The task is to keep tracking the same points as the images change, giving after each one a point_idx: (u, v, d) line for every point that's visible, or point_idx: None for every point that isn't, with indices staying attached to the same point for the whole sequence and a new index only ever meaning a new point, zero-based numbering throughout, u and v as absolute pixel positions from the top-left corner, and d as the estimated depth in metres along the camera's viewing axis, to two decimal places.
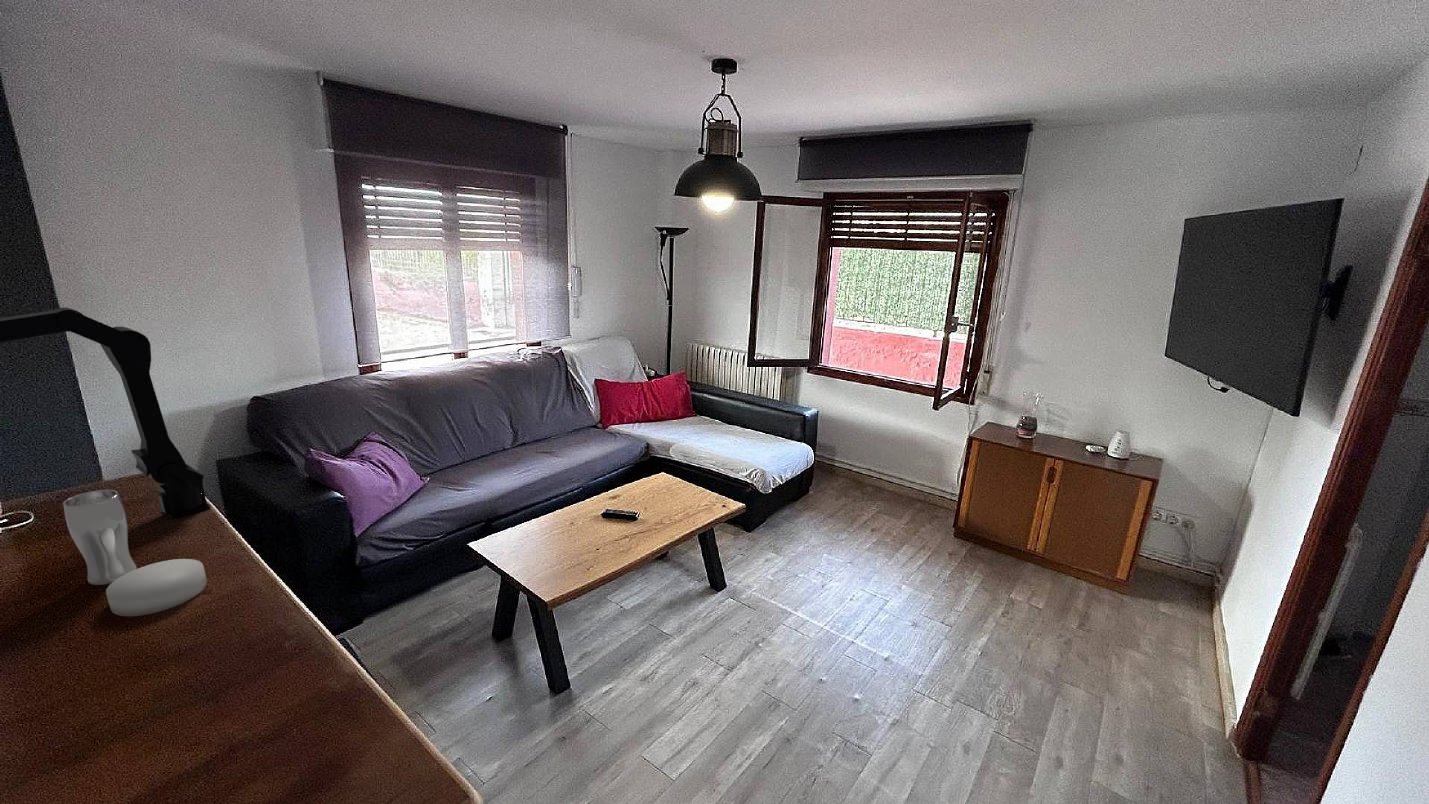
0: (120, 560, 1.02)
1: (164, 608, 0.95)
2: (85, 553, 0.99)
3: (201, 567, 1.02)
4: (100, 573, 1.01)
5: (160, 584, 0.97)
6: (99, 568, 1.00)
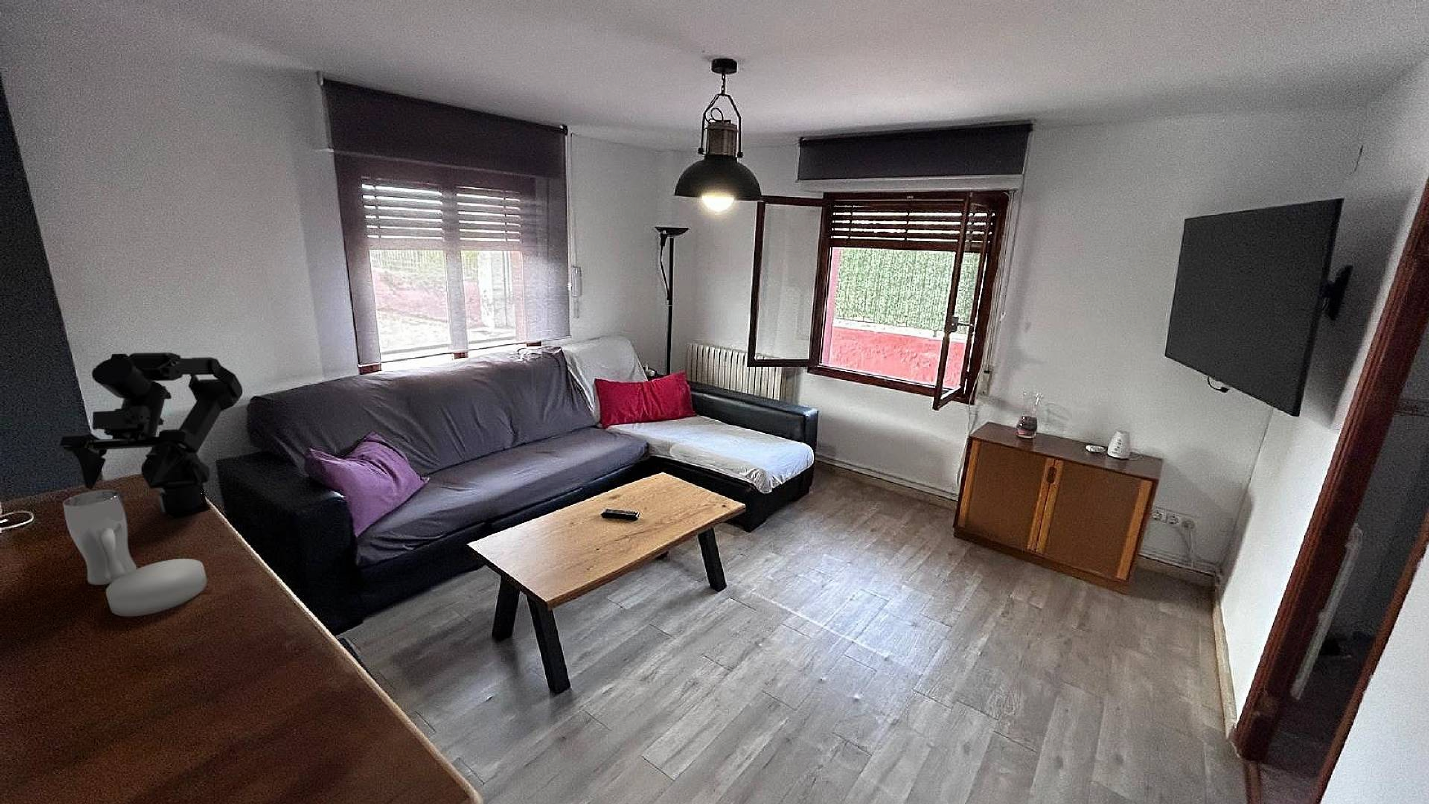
0: (120, 560, 1.02)
1: (164, 608, 0.95)
2: (85, 553, 0.99)
3: (201, 567, 1.02)
4: (100, 573, 1.01)
5: (160, 584, 0.97)
6: (99, 568, 1.00)
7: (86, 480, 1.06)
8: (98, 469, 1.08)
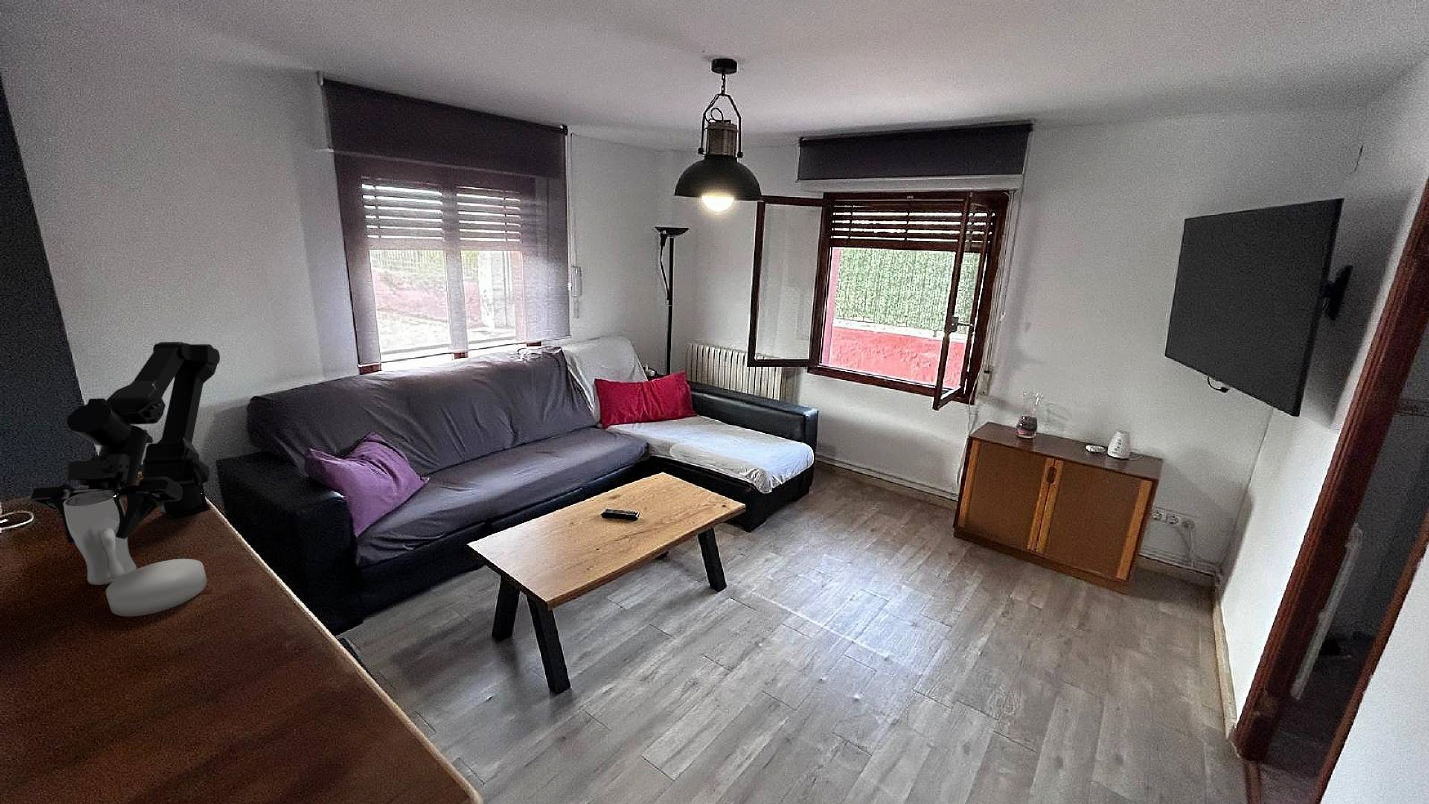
0: (120, 560, 1.02)
1: (164, 608, 0.95)
2: (85, 553, 0.99)
3: (201, 567, 1.02)
4: (100, 573, 1.01)
5: (160, 584, 0.97)
6: (99, 568, 1.00)
7: (68, 534, 0.99)
8: None
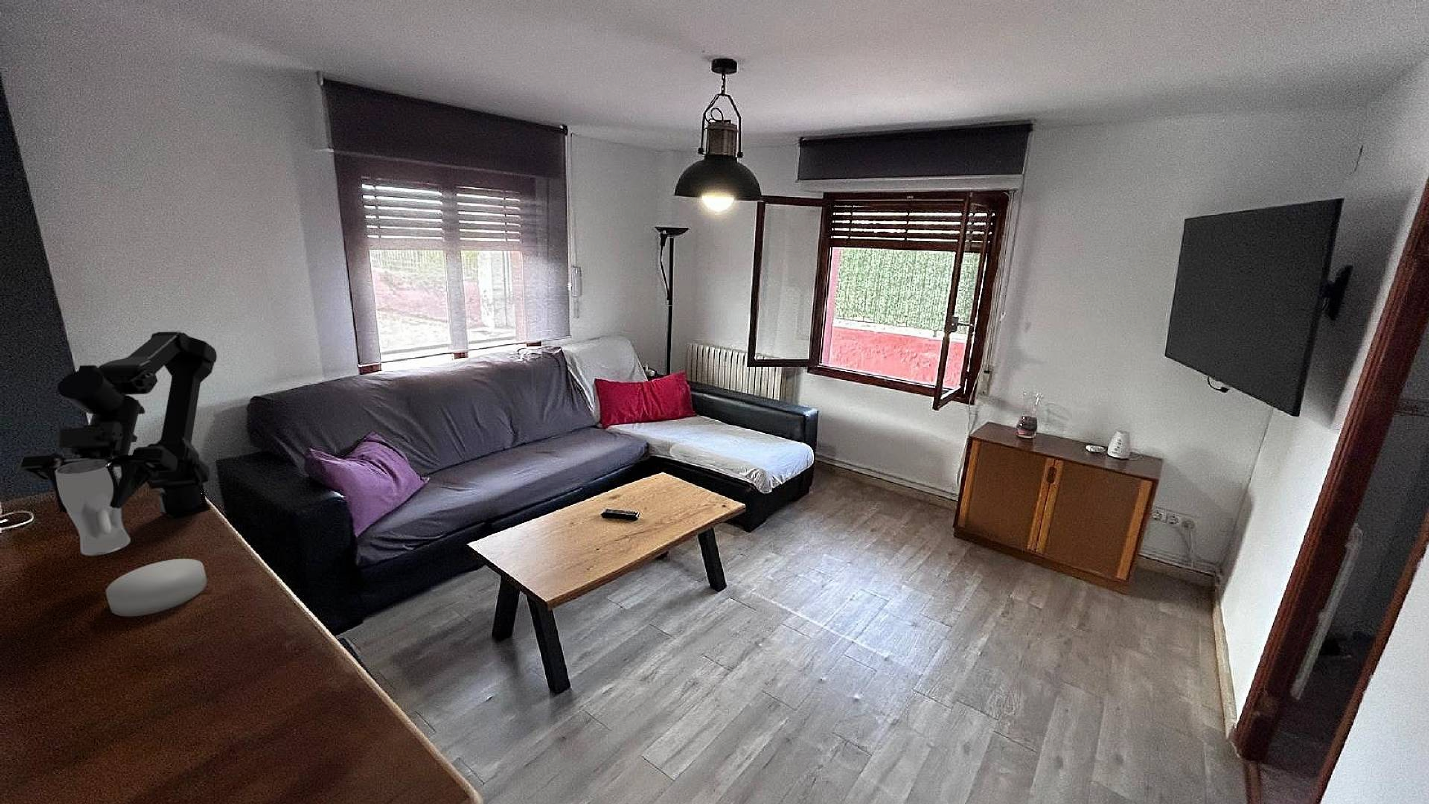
0: (115, 530, 1.00)
1: (164, 608, 0.95)
2: (78, 523, 0.97)
3: (201, 567, 1.02)
4: (94, 543, 0.98)
5: (160, 584, 0.97)
6: (92, 538, 0.98)
7: (60, 503, 0.97)
8: None
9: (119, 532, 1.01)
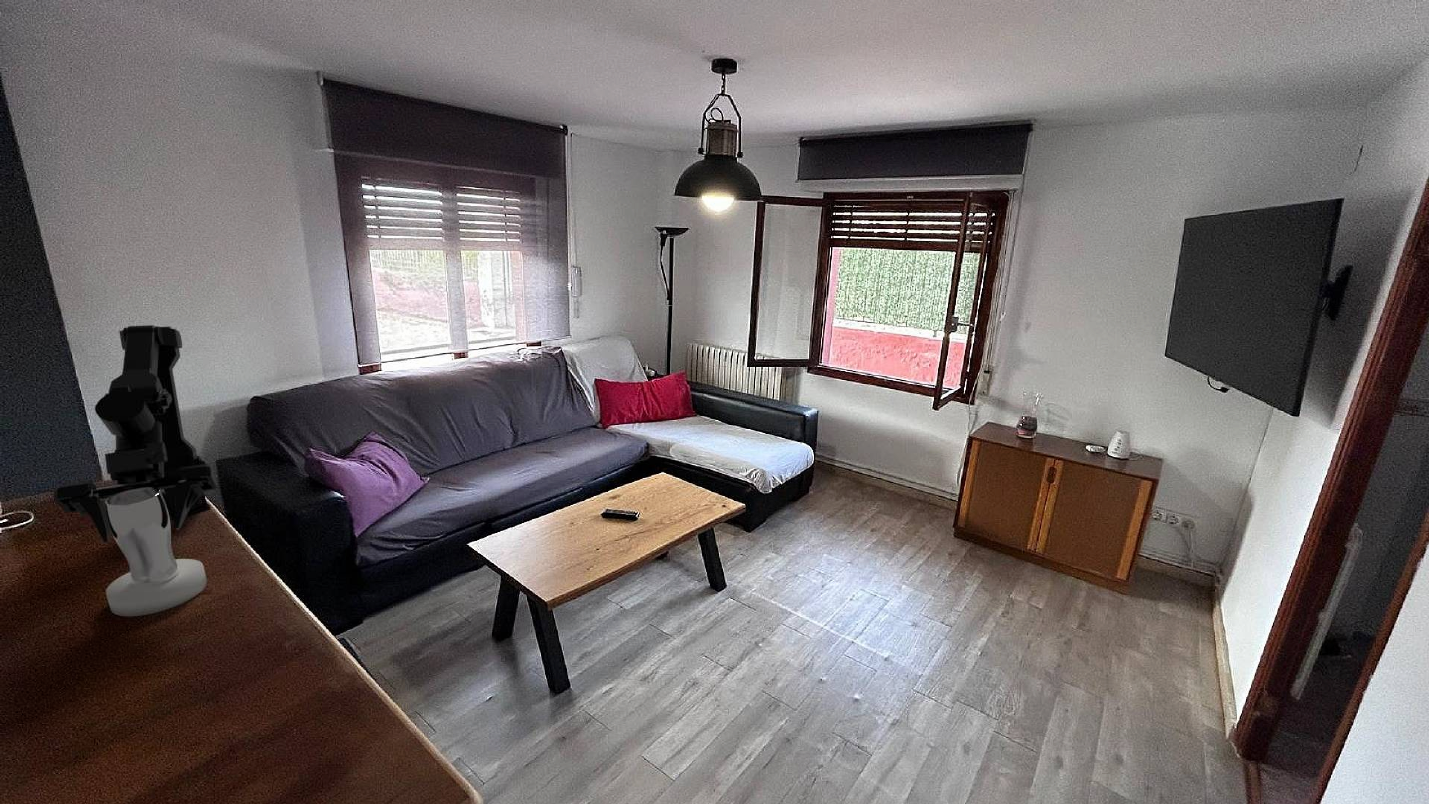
0: (168, 558, 0.98)
1: (164, 608, 0.95)
2: (134, 554, 0.94)
3: (201, 567, 1.02)
4: (151, 573, 0.96)
5: (160, 584, 0.97)
6: (149, 568, 0.96)
7: (103, 533, 0.92)
8: (107, 520, 0.95)
9: (172, 560, 0.99)
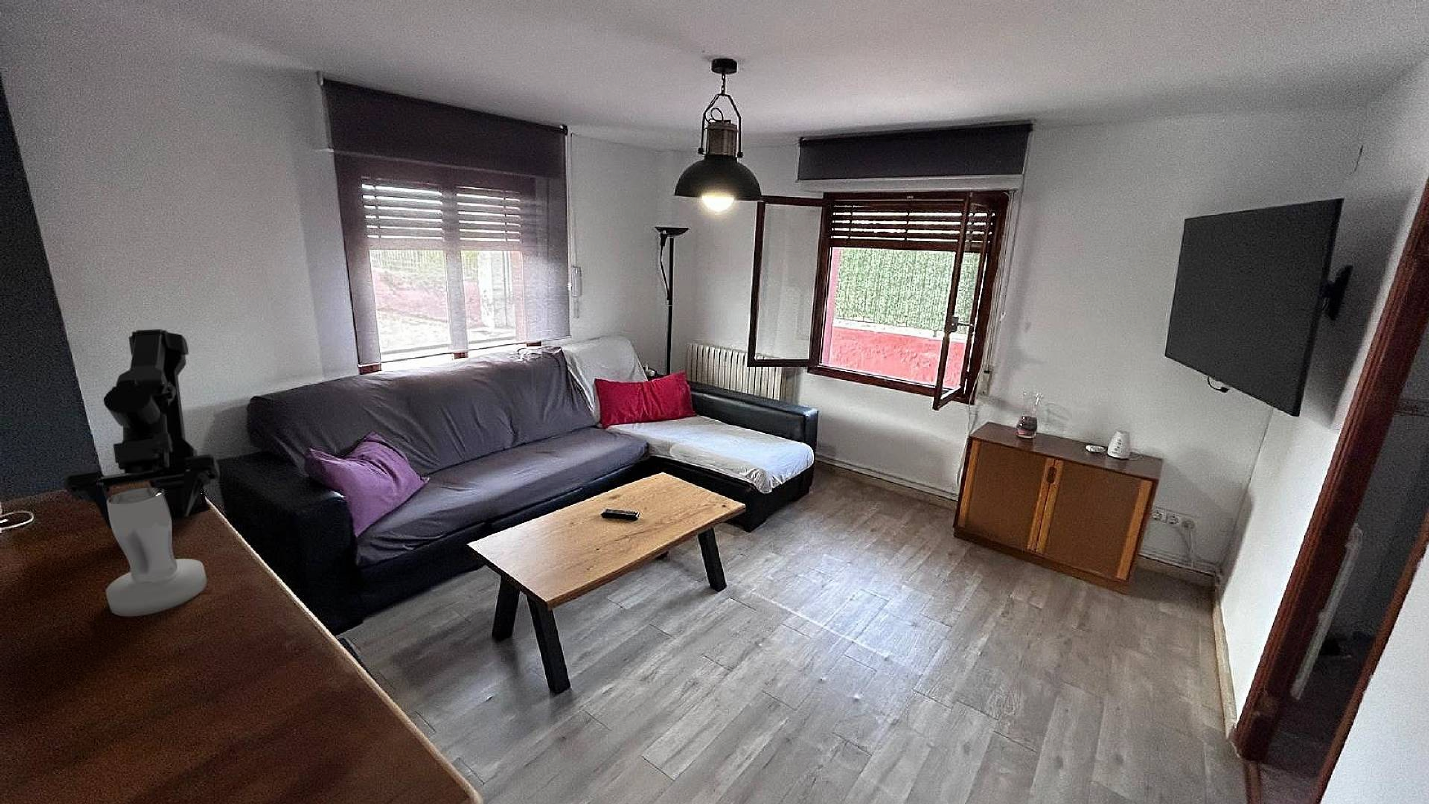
0: (169, 558, 0.98)
1: (164, 608, 0.95)
2: (135, 554, 0.94)
3: (201, 567, 1.02)
4: (151, 573, 0.96)
5: (160, 584, 0.97)
6: (150, 568, 0.96)
7: (108, 520, 0.97)
8: None
9: (172, 560, 0.99)
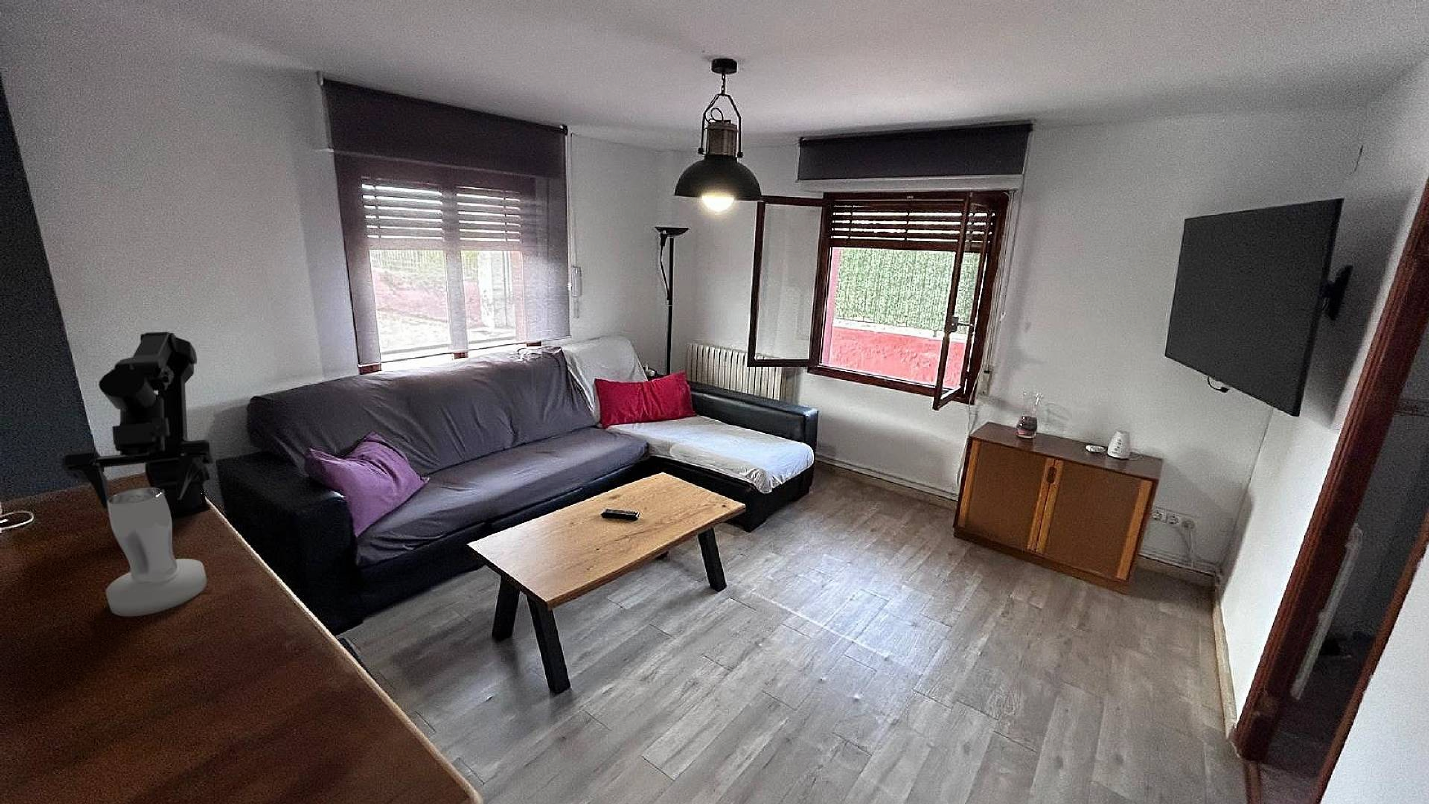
0: (169, 558, 0.98)
1: (164, 608, 0.95)
2: (135, 554, 0.94)
3: (201, 567, 1.02)
4: (151, 573, 0.96)
5: (160, 584, 0.97)
6: (150, 568, 0.96)
7: (103, 500, 0.99)
8: (106, 488, 1.01)
9: (172, 560, 0.99)
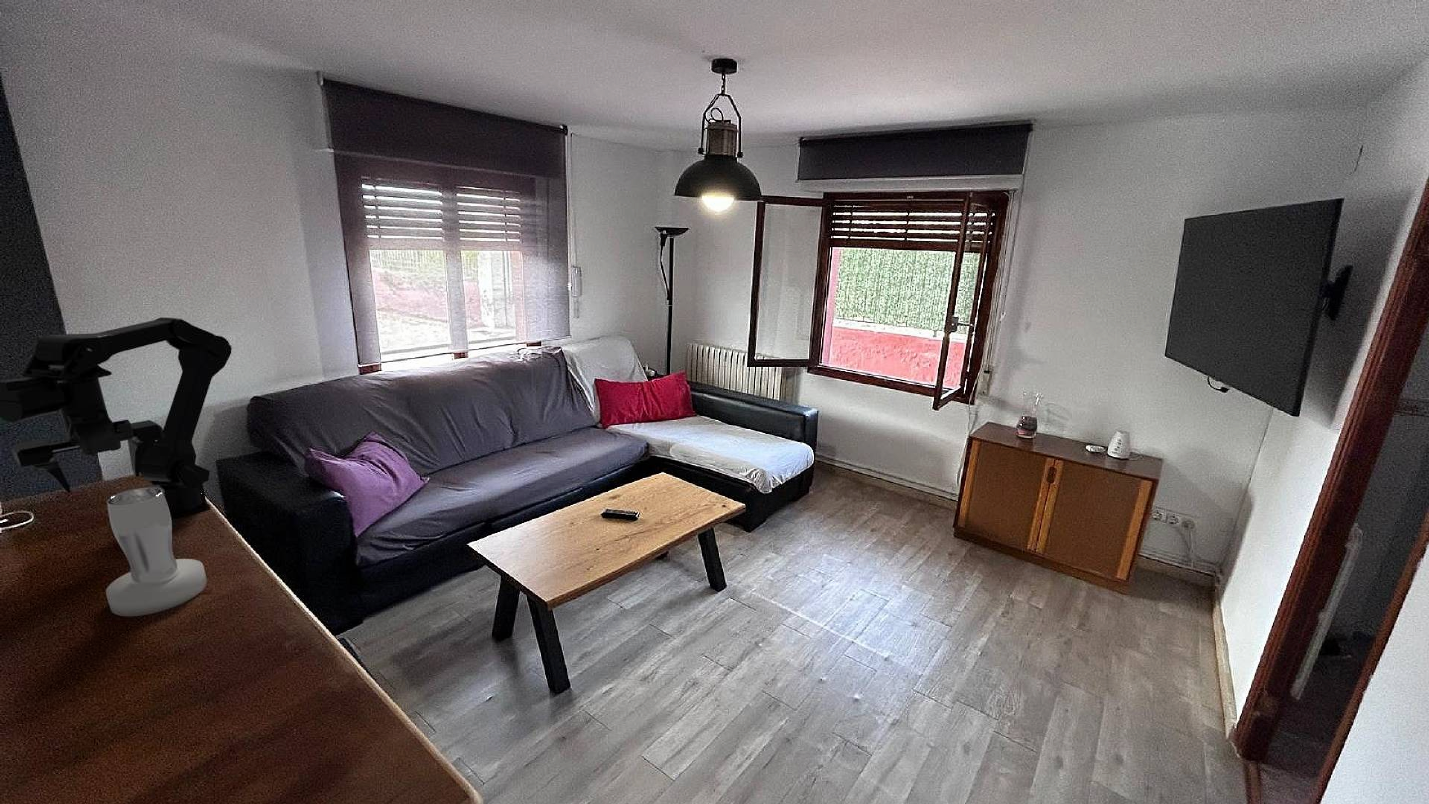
0: (169, 558, 0.98)
1: (164, 608, 0.95)
2: (135, 554, 0.94)
3: (201, 567, 1.02)
4: (151, 573, 0.96)
5: (160, 584, 0.97)
6: (150, 568, 0.96)
7: (66, 487, 1.06)
8: None
9: (172, 560, 0.99)
